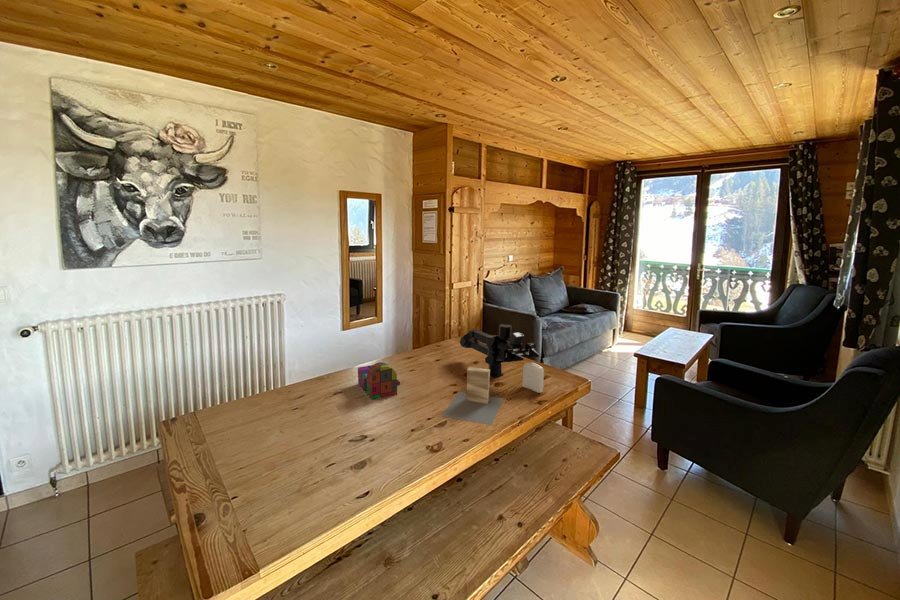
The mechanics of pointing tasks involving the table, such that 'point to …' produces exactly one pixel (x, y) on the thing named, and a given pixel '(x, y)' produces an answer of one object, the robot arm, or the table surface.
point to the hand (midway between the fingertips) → (531, 357)
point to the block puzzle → (378, 380)
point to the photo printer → (533, 377)
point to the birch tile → (478, 385)
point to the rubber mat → (473, 409)
